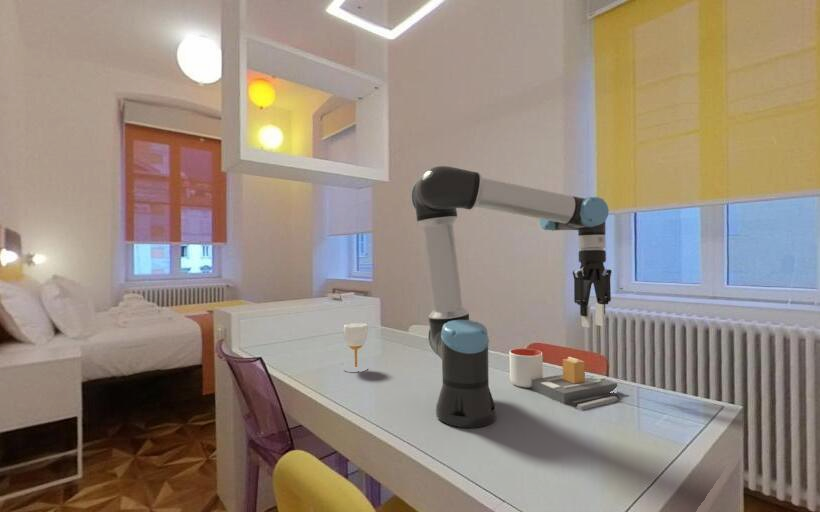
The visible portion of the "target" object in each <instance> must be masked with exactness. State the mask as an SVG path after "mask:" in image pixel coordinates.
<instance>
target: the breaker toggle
mask: <svg viewBox="0 0 820 512" xmlns="http://www.w3.org/2000/svg"><path fill="white" fill-rule="evenodd" d="M585 367H586V366H585V361H584V360H581V359H578V358H574V357H571V356H568V357H567V358H563V359H562V375H563V380H566V381H568V382H571V383H574V384H576V383H581V382H585V372H586V371H585Z"/></svg>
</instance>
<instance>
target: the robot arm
mask: <svg viewBox="0 0 820 512" xmlns="http://www.w3.org/2000/svg"><path fill="white" fill-rule="evenodd" d="M411 203H412V205H413V207H414V209H415V213H416V222H417V224H419V226H421V227H422V229H423V237H424V245H425V254H426V261H427V262H426V263H427V270H428V279H429V286H430V287H429V288H430V293H431V294H430V296H431V303H432V311H431V312H430V314H429V315H428V321H429V322H428V323H429V329H428V342H429V346H430V348H431V349H432V351H433V352H434V354H435V355H437V356H438V357H439V358H440V360H441V362H442V363H441V364H442V365H441V366H442V368H441V369H442V374H441V375H442V376H441V377H442V384H441V389H440V392H439V395H438V399H437V403H436V405H435V406H436V407H435V415H437V416H436V418H437V417H438V418H439V419H440V420H441V421H443V422H445V423H448V424H450V425H449V426H451V425H454V426H453V427H455V426H460V427H459V428H463V427H469V428H468V429H472V428H473V427H474V428H475V429H476V428H483V427H486V426H489V425H491V424H493V423H494V422H495V421H496V420H497V406H496V404H495V402H494V398H493V395H492V393H491V389H490V386H489V383H490V382H489V343H490V339H489V335H488V328H487V327H486V326H485V325H484V324H483V323H482V322H478V321H474V320H470V313H469V310H467V309H466V308H465V307H464V306H463V300H462V290H461V282H460V275H459V265H458V257H457V249H456V248H457V247H456V239H455V231H454V223H455V222H456V220H457V219H458V211H457V209H463V210H464V209H465V210H470V211H472V210H473V209H475V208H481V209H484V210H485V209H486V210H491V211H496V212H502V213H507V214H512V215H516V216H517V215H519V216H521V217H522V216H524V217H529V218H534V219H538V220H539V224H540V227H541V228H542V229H543V230H545V231H552V232H553V231H577V232H578V233H577V234H578V241H577V242H578V249H580V250H579V251H578V262H579V263H580V267H579V269H577V270H572V275H573V278H574V279H573V287H574V288H573V291H574V292H573V293H574V294H573V296H574V297H573V300H574V303H575V304H576V305H580V306H579V309H580V310H579V311H580V313H579V314H580V317H581V327H584V328H588V329H590V328H591V327H592V322H591V315H592V314H591V305H589V301H590V297H591V296H590V295H591V290H592V286H593V288H594V289H593V290H594V294H595V297H596V302H597V303H594V307H595V308H594V310H595V311H594V313H595V316H594V320H595V325H596V326H600V327H605V323H606V322H605V315H606V305H609V303H610V302H611V299H612V296H611V295H612V294H611V293H612V292H611V276H612V270H611V269H607V268H605V266H604V263H605V262H606V261H607V252H606V250H604V249H605V248H606V221H607V218H608V216H609V212H610V211H609V210H610V209H609V205H608V204H607V202H606V201H605V200H604V199H603V198H602V197H598V196H594V197H593V196H589V197H586V198H584V197H579V196H574V195H573V196H572V195H570V194H569V195H567V194H563V193H558V192H553V191H548V190H544V189H541V188H539V189H538V188H534V187H529V186H524V185H521V184H520V185H519V184H514V183H511V182H505V181H500V180H497V179H496V180H495V179H491V178H486V177H482V174H480V173H479V172H476V171H471V170H467V169H462V168H460V167H459V168H458V167H453V166H445V165H440V166H434V167H431V168H430V169H428V170H427V171H425V173H424V174H423V175H422V176H421V177H420V178H419V179H418V180H417V181H416V182H415V184H414V185H413V188H412V190H411ZM438 418H437V419H438ZM439 419H438V420H439ZM440 420H439V421H440ZM441 421H440V422H441ZM443 422H442V423H443ZM445 423H444V424H445ZM448 424H447V425H448ZM471 427H472V428H471Z"/></svg>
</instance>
